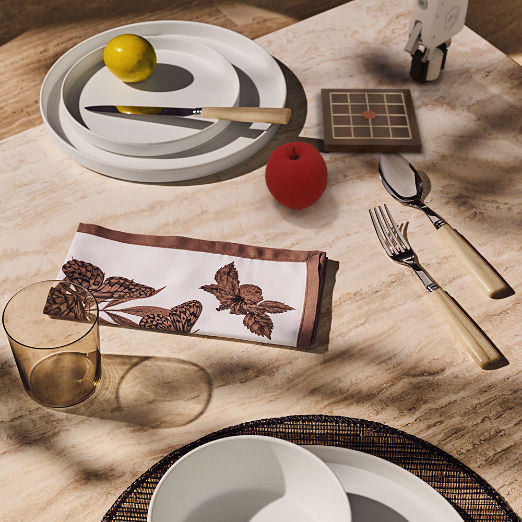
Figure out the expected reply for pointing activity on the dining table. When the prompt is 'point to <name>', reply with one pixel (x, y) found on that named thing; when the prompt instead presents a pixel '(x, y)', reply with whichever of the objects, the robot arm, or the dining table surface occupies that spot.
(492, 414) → the dining table surface
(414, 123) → the board
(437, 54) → the white cylinder
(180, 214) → the dining table surface
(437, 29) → the robot arm
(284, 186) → the apple
